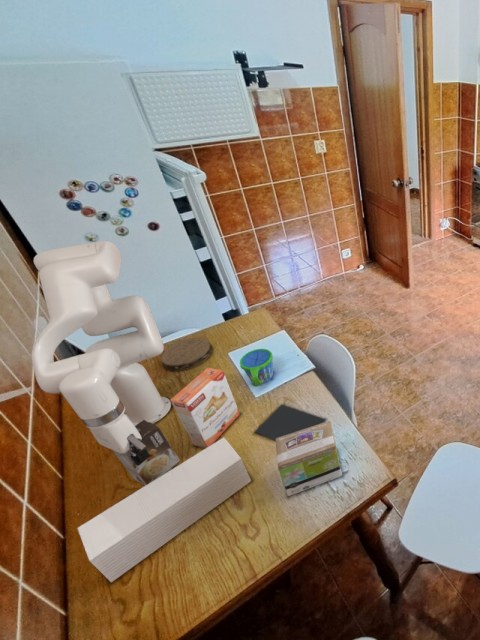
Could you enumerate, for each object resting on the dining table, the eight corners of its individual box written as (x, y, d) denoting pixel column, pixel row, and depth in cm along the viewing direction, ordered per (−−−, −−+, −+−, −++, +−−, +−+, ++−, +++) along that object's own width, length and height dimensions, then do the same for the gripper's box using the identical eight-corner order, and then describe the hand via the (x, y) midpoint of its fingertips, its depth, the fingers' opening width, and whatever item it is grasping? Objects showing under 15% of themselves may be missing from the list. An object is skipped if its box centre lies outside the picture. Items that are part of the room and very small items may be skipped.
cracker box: (209, 449, 120) (185, 403, 109) (192, 445, 121) (167, 399, 110) (241, 414, 132) (223, 369, 121) (226, 410, 133) (206, 366, 122)
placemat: (254, 432, 126) (254, 431, 125) (281, 405, 136) (281, 404, 135) (300, 449, 121) (300, 448, 121) (325, 419, 131) (324, 419, 131)
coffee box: (166, 452, 116) (144, 417, 108) (180, 461, 114) (160, 426, 106) (132, 479, 109) (107, 444, 101) (148, 488, 107) (123, 453, 99)
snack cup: (273, 391, 141) (266, 371, 135) (241, 395, 138) (233, 375, 133) (281, 362, 154) (276, 342, 148) (252, 365, 151) (245, 345, 146)
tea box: (288, 498, 108) (276, 467, 100) (285, 468, 116) (273, 437, 108) (343, 476, 114) (335, 445, 107) (337, 449, 122) (329, 418, 114)
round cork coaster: (173, 346, 159) (171, 340, 157) (217, 341, 162) (214, 335, 161) (156, 373, 146) (153, 367, 144) (203, 367, 149) (201, 361, 148)
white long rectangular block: (234, 459, 117) (224, 437, 112) (251, 481, 112) (241, 458, 106) (98, 550, 95) (77, 527, 90) (111, 582, 90) (89, 560, 84)
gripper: (61, 413, 94) (95, 458, 103) (111, 435, 90) (142, 479, 99) (95, 391, 100) (125, 435, 110) (144, 410, 96) (171, 454, 105)
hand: (133, 456), depth 104 cm, fingers closed on coffee box, 6 cm apart
